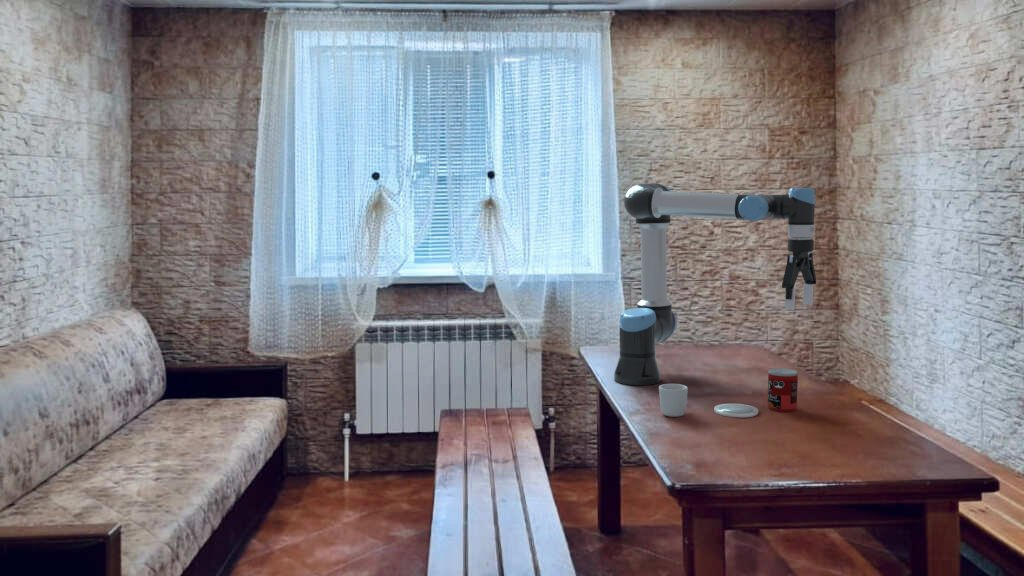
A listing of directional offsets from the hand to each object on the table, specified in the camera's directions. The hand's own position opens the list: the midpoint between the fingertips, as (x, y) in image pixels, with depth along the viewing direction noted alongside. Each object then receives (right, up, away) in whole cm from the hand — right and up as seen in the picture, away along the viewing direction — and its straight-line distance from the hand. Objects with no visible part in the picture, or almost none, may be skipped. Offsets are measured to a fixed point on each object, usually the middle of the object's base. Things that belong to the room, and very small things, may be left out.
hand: (798, 307), depth 253 cm
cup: (-43, -30, -22) cm, 56 cm away
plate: (-25, -29, -21) cm, 44 cm away
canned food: (-11, -29, -18) cm, 36 cm away
